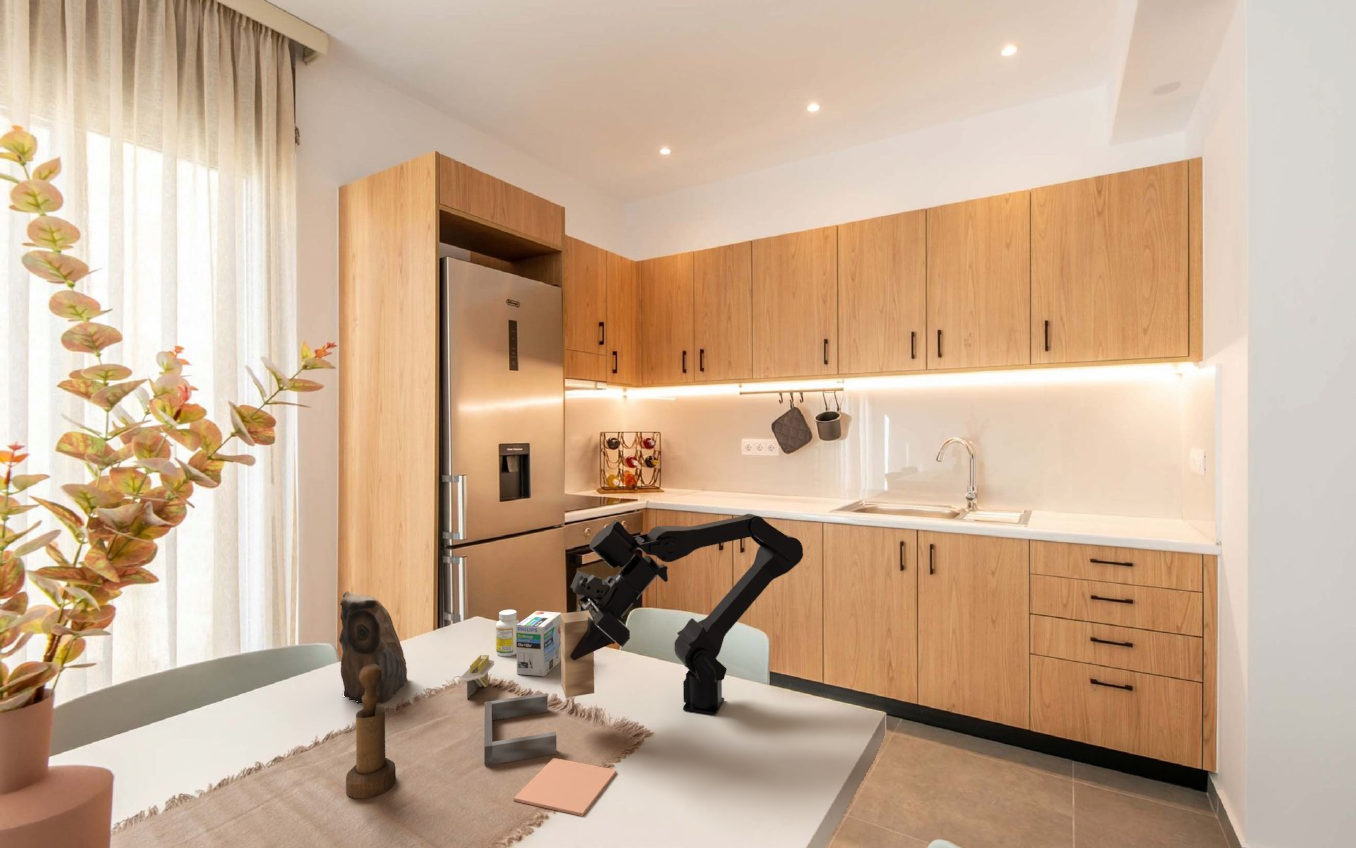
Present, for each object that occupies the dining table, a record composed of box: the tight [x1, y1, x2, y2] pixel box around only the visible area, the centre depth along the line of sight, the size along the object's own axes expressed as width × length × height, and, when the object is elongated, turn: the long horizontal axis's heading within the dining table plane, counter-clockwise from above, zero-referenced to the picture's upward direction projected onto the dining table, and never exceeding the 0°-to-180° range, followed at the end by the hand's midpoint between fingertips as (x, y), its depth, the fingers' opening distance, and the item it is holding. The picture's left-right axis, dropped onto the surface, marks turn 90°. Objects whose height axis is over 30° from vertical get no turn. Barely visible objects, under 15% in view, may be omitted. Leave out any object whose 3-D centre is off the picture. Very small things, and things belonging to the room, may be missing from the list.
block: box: [560, 610, 595, 699], centre depth 107 cm, size 5×5×13 cm
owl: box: [338, 591, 408, 705], centre depth 123 cm, size 13×13×20 cm
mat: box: [513, 757, 617, 817], centre depth 90 cm, size 11×11×1 cm
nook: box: [483, 693, 557, 767], centre depth 105 cm, size 11×16×3 cm
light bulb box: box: [516, 610, 563, 677], centre depth 135 cm, size 11×7×11 cm, turn 168°
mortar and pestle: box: [345, 664, 397, 800], centre depth 91 cm, size 7×6×18 cm
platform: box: [460, 654, 495, 700], centre depth 123 cm, size 12×18×7 cm, turn 177°
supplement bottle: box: [495, 609, 520, 657], centre depth 144 cm, size 5×5×10 cm
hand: (569, 653), depth 107 cm, fingers closed on block, 5 cm apart
